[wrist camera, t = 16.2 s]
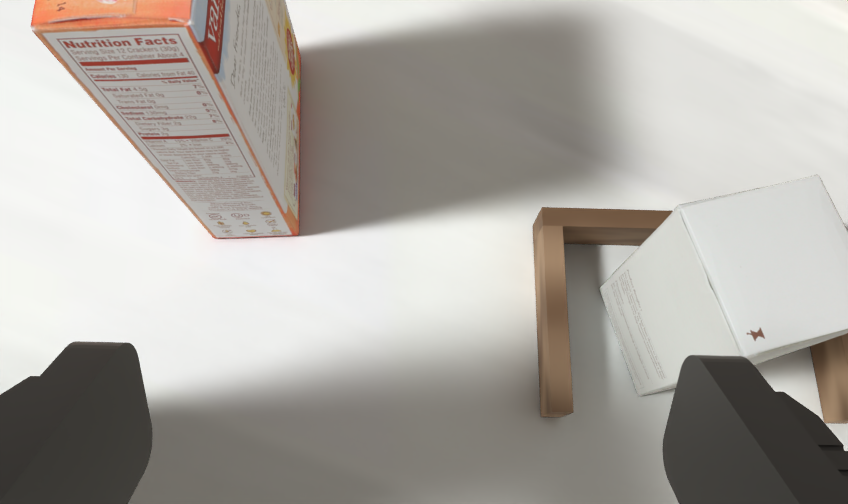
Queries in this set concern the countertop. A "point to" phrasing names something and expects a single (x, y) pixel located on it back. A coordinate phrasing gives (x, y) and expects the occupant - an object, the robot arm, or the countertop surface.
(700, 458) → the robot arm
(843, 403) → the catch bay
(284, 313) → the countertop surface
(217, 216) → the cracker box
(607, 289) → the supplement box
